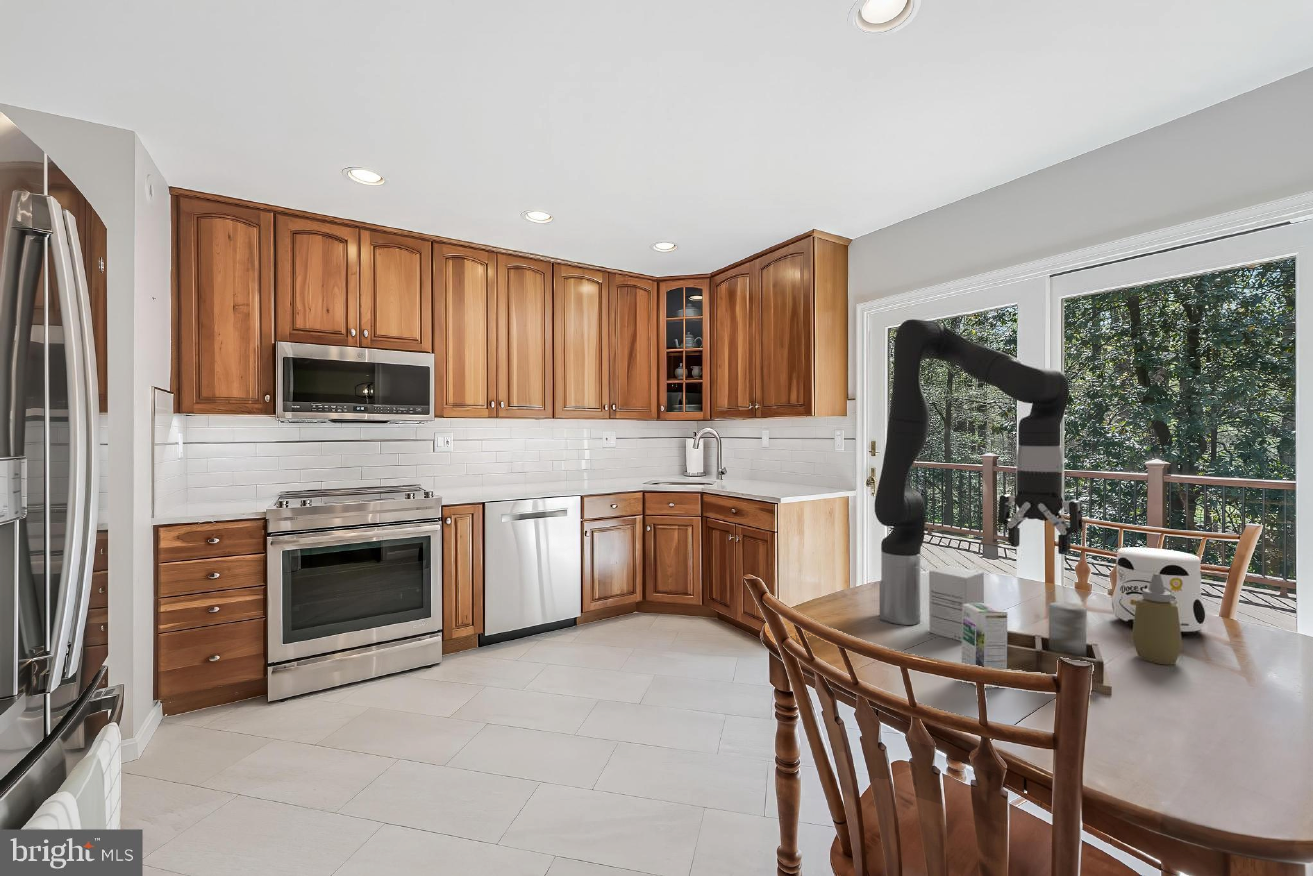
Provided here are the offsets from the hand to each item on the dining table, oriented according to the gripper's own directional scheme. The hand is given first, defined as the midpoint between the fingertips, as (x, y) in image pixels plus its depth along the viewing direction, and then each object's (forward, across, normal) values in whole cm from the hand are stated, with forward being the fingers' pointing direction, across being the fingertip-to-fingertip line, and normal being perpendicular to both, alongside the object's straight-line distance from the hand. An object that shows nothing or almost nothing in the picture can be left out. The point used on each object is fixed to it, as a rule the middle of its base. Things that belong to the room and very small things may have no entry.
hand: (1038, 549), depth 116 cm
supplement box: (+25, -21, +8) cm, 33 cm away
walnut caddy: (+24, 0, +1) cm, 24 cm away
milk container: (+25, +5, +52) cm, 58 cm away
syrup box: (+25, -4, -14) cm, 28 cm away
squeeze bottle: (+24, +12, +26) cm, 38 cm away
